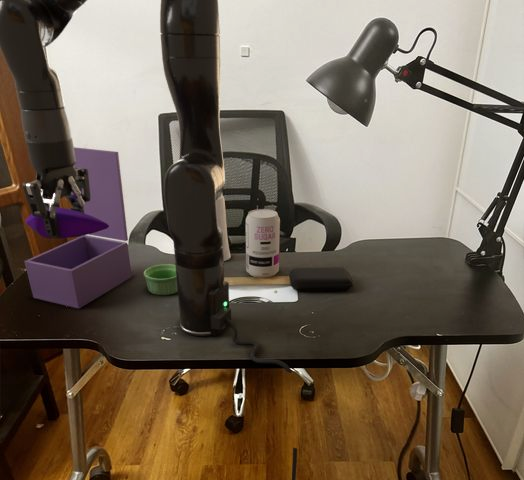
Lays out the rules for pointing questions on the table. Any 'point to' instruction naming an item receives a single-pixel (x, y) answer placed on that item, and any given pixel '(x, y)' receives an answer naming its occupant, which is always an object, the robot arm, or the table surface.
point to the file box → (79, 270)
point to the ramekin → (161, 279)
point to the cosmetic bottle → (222, 225)
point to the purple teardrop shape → (68, 223)
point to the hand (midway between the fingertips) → (67, 231)
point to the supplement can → (262, 243)
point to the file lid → (104, 190)
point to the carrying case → (320, 279)
